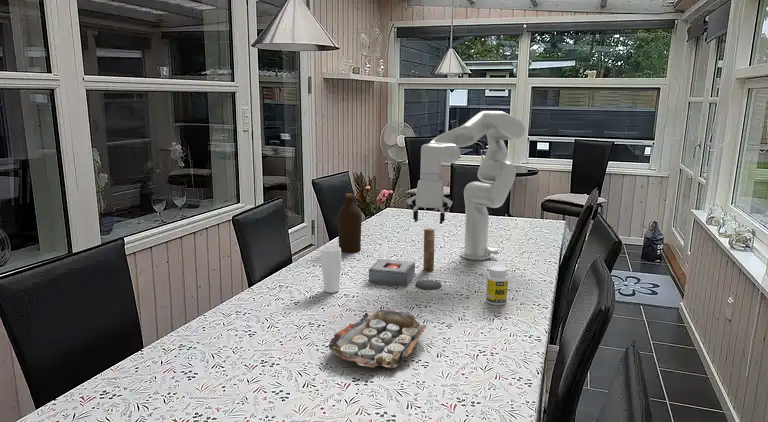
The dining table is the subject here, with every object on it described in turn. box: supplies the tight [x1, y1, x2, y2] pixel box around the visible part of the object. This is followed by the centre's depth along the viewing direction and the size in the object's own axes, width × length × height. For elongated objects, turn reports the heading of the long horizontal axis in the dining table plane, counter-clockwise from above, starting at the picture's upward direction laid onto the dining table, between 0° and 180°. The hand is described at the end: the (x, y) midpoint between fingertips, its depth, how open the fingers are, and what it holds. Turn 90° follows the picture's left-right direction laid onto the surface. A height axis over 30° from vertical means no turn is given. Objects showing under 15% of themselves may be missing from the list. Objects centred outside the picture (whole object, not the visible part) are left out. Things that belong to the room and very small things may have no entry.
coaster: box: [415, 279, 442, 291], centre depth 186 cm, size 9×9×1 cm
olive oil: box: [336, 193, 363, 254], centre depth 229 cm, size 11×11×25 cm
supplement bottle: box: [485, 265, 509, 306], centre depth 170 cm, size 6×6×11 cm
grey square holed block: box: [368, 258, 416, 287], centre depth 193 cm, size 14×14×5 cm
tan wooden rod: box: [422, 228, 436, 272], centre depth 203 cm, size 4×4×16 cm
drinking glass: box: [320, 245, 342, 294], centre depth 179 cm, size 7×7×15 cm
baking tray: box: [328, 308, 427, 369], centre depth 138 cm, size 30×22×5 cm
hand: (428, 222), depth 200 cm, fingers open, 9 cm apart
